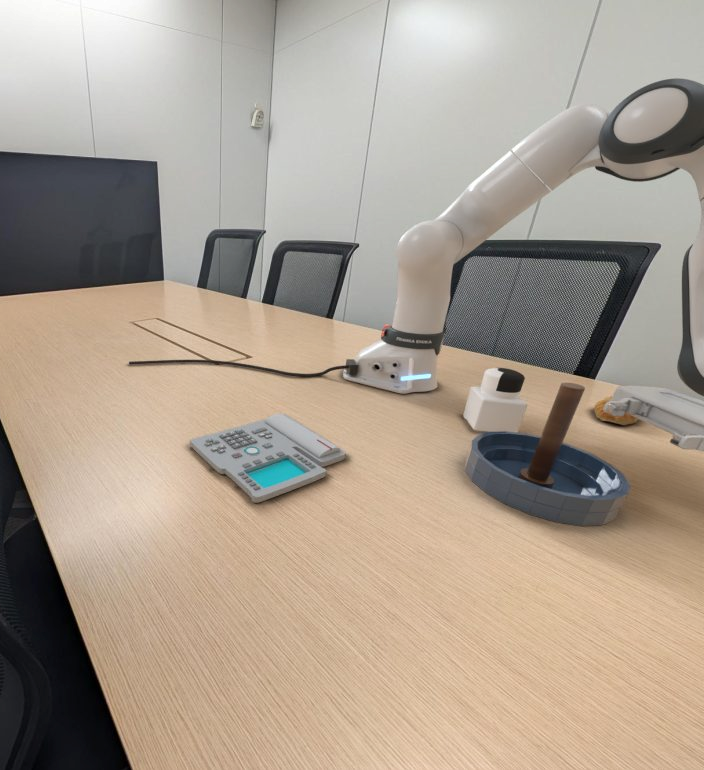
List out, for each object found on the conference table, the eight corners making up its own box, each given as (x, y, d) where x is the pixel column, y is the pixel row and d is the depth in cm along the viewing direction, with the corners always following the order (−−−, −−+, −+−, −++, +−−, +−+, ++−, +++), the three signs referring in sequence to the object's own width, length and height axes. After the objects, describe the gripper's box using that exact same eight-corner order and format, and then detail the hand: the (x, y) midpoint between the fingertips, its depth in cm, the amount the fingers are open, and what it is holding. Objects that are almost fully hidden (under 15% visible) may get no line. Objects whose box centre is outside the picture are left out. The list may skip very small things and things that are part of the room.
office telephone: (284, 407, 80) (362, 451, 64) (283, 418, 81) (359, 464, 65) (188, 433, 71) (251, 493, 54) (189, 445, 72) (250, 507, 55)
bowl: (463, 498, 56) (472, 471, 54) (464, 445, 69) (471, 422, 67) (633, 549, 47) (651, 517, 45) (597, 476, 60) (609, 450, 58)
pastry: (636, 431, 72) (644, 414, 71) (587, 419, 77) (594, 403, 76) (640, 417, 78) (648, 400, 76) (594, 406, 83) (601, 390, 81)
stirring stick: (518, 486, 57) (556, 387, 51) (516, 473, 60) (551, 378, 54) (553, 496, 55) (597, 393, 49) (548, 481, 58) (589, 383, 52)
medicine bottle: (502, 420, 78) (520, 366, 73) (516, 437, 72) (537, 379, 67) (462, 416, 80) (477, 363, 75) (473, 432, 74) (490, 375, 69)
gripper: (676, 376, 60) (583, 376, 61) (883, 443, 41) (743, 440, 42) (658, 411, 62) (569, 410, 63) (846, 489, 44) (715, 486, 45)
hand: (640, 423), depth 53 cm, fingers open, 8 cm apart
